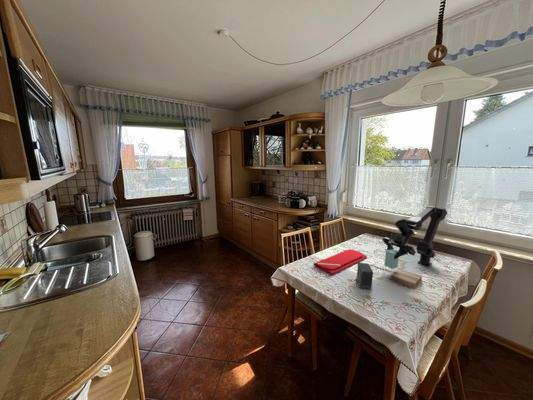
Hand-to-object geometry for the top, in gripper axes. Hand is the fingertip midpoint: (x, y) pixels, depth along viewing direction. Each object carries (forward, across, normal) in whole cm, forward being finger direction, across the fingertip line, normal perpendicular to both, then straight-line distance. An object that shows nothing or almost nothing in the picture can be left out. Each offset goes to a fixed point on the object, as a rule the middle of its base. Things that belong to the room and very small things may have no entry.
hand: (390, 256), depth 134 cm
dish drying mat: (+19, -25, -2) cm, 32 cm away
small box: (+24, +2, -7) cm, 25 cm away
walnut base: (+6, +9, +10) cm, 15 cm away
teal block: (+4, 0, +6) cm, 7 cm away
